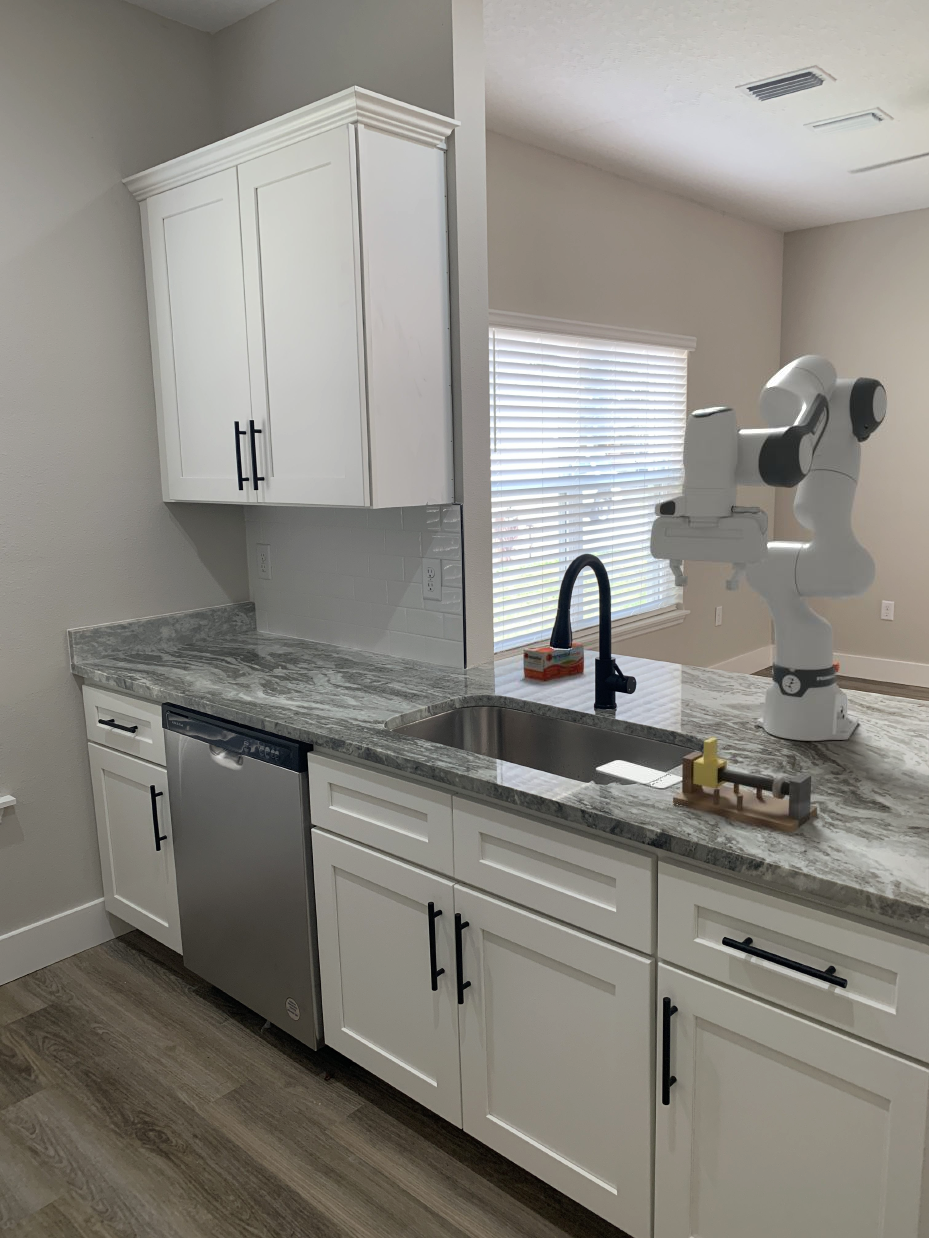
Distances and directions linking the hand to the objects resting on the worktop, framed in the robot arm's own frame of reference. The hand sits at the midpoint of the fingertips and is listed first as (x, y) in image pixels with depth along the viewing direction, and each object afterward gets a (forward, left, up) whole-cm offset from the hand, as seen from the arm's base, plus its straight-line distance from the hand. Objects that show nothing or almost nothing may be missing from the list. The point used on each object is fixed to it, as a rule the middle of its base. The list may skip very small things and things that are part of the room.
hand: (706, 588), depth 159 cm
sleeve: (+7, +5, -31) cm, 33 cm away
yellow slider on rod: (+7, +11, -34) cm, 37 cm away
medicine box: (-52, -71, -35) cm, 95 cm away
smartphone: (+3, -11, -35) cm, 37 cm away
